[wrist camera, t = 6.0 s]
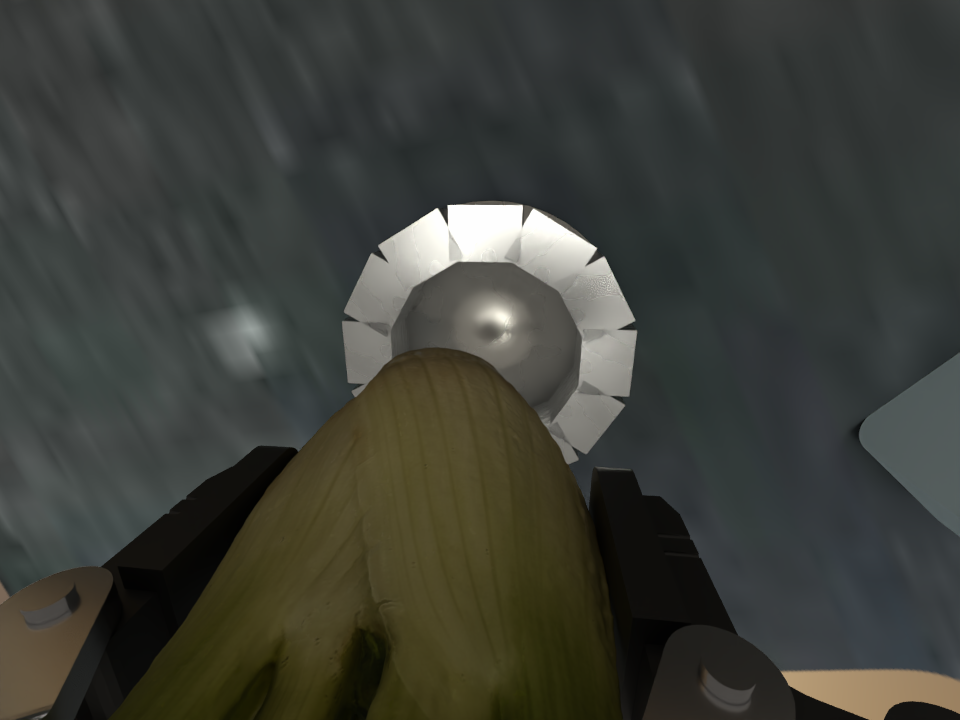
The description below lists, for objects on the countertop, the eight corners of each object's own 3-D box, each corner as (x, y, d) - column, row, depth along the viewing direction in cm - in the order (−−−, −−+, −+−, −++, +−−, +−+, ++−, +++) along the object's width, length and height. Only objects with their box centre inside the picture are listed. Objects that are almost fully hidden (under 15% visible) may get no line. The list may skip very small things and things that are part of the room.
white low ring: (636, 201, 18) (659, 199, 15) (609, 453, 22) (621, 496, 19) (359, 200, 20) (324, 199, 16) (378, 439, 24) (353, 476, 20)
